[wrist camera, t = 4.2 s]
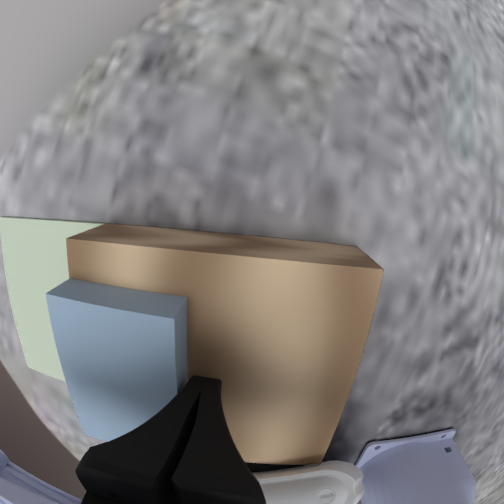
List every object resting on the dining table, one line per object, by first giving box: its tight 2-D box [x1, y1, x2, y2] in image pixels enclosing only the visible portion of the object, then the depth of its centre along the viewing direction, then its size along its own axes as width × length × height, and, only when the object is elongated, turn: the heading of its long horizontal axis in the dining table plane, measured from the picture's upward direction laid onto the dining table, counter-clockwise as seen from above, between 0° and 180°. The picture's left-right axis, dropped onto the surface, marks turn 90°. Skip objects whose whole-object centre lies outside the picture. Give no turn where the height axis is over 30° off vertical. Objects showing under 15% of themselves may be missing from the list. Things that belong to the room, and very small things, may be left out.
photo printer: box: [252, 460, 365, 504], centre depth 16 cm, size 10×4×12 cm
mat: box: [0, 217, 106, 382], centre depth 17 cm, size 10×13×1 cm
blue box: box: [46, 278, 188, 442], centre depth 12 cm, size 6×9×2 cm, turn 175°
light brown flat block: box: [66, 223, 384, 465], centre depth 15 cm, size 14×13×4 cm
